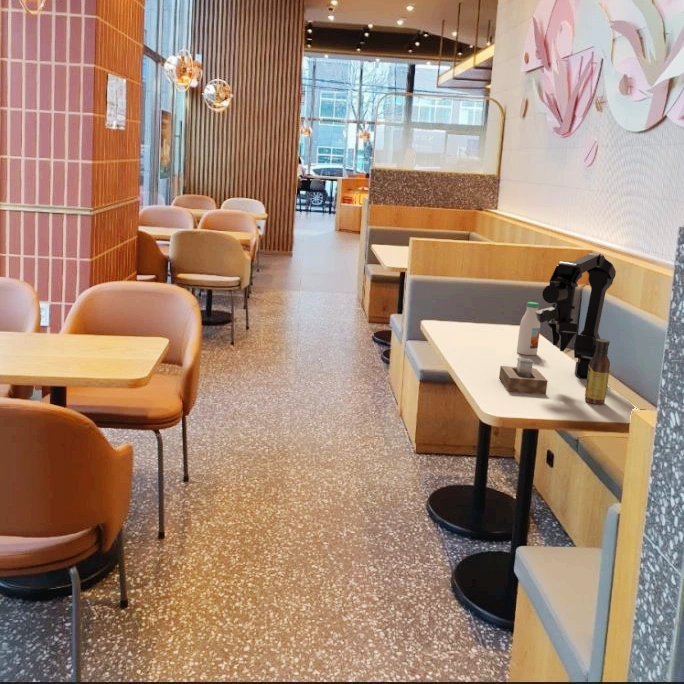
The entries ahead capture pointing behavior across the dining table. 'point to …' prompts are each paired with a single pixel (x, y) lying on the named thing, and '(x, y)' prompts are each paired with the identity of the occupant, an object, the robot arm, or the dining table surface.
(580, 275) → the robot arm
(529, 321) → the milk bottle
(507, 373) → the well board
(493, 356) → the dining table surface
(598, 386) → the sauce bottle
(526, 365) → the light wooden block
